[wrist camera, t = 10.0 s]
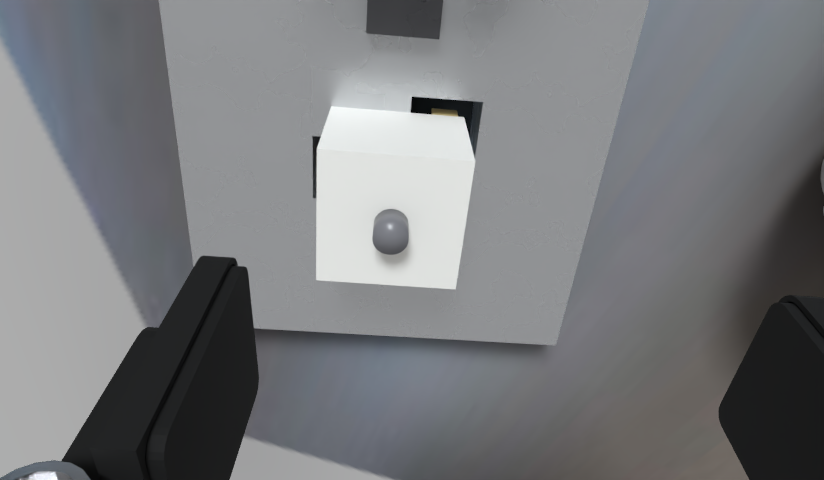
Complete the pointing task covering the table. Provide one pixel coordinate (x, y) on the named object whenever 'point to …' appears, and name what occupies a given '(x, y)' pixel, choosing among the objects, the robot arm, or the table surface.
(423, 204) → the plug
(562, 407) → the table surface
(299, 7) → the socket
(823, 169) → the bowl
